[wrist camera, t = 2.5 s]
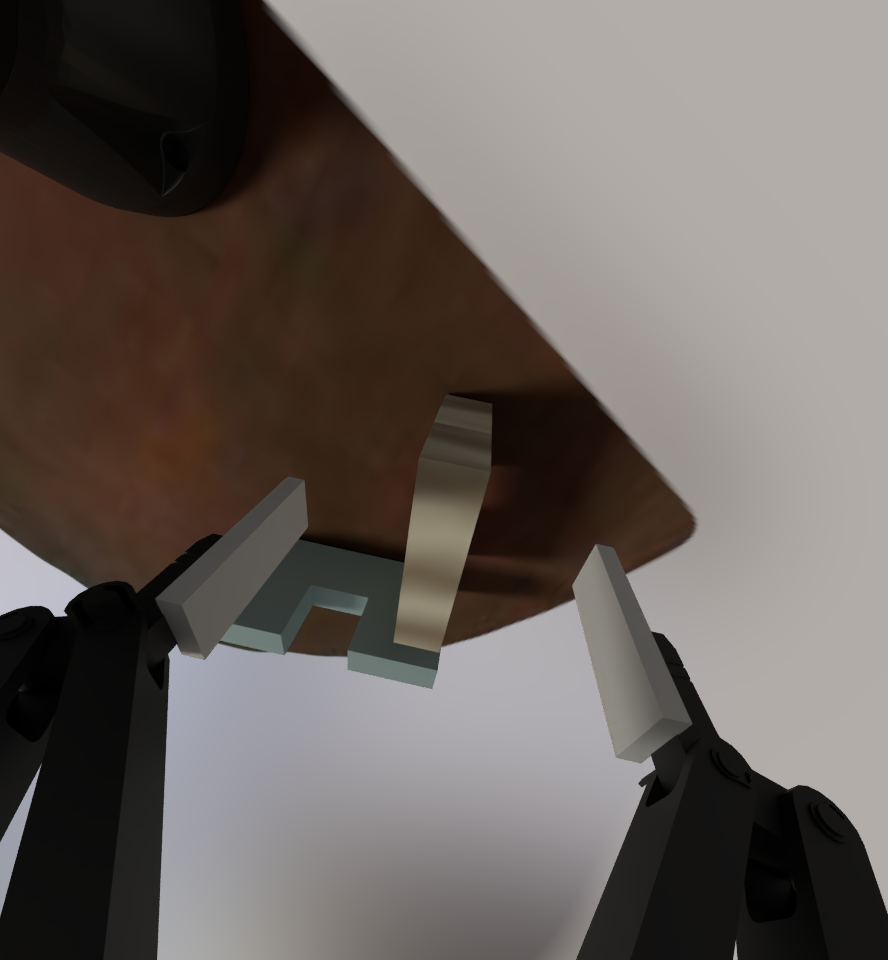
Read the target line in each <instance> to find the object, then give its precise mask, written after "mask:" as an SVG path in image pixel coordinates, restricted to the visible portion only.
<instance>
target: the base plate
mask: <svg viewBox="0 0 888 960" xmlns="http://www.w3.org/2000/svg"><path fill="white" fill-rule="evenodd" d="M403 570H404V563H403V562H399V561H394V560H390V559H385V558H381V557H376V556H372V555H367V554H362V553H358V552H353V551H349V550H344V549H340V548H335V547H331V546H326V545H321V544H317V543H312V542H308V541H303V540H299V539H298V540H297V542H296V543H295V544H294V546H293V547H292V548H291V549H290V551H289V552H288V553H287V555H286V556H285V557H284V558H283V560H282V561H281V562H280V564H279V565H278V566H277V567H276V569H275V570H274V571H273V573H272V574H271V575H270V577H269V578H268V579H267V580H266V582H265V583H264V584H263V586H262V587H261V588H260V589H259V591H258V592H257V593H256V595H255V596H254V597H253V598H252V600H251V601H250V602H249V604H248V605H247V606H246V607H245V609H244V610H243V611H242V613H241V614H240V615H239V616H238V618H237V619H236V620H235V622H234V623H233V624H232V625H231V627H230V628H229V629H228V631H227V632H226V633H225V634H224V636H223V637H222V638H221V641H225V642H229V643H234V644H238V645H242V646H247V647H251V648H255V649H260V650H264V651H269V652H273V653H277V654H282V655H285V653H286V652H287V650H288V648H289V646H290V645H291V643H292V641H293V639H294V637H295V636H296V634H297V632H298V630H299V628H300V627H301V625H302V623H303V621H304V619H305V618H306V616H307V614H308V612H309V611H310V609H311V607H312V605H315V606H320V607H324V608H329V609H333V610H337V611H342V612H346V613H351V614H355V615H360V616H361V618H360V621H359V623H358V626H357V628H356V631H355V633H354V636H353V638H352V641H351V643H350V646H349V648H348V670H352V671H356V672H360V673H365V674H369V675H373V676H378V677H382V678H386V679H391V680H395V681H400V682H404V683H409V684H413V685H417V686H422V687H426V688H430V689H432V687H433V684H434V680H435V677H436V674H437V670H438V663H439V656H440V652H434V651H430V650H425V649H421V648H416V647H412V646H408V645H403V644H399V643H394V635H395V627H396V620H397V613H398V606H399V599H400V591H401V584H402V577H403ZM440 650H441V648H440Z"/></svg>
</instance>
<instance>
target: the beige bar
mask: <svg viewBox="0 0 888 960" xmlns="http://www.w3.org/2000/svg"><path fill="white" fill-rule="evenodd" d="M491 443H492V404H491V403H486V402H481V401H476V400H471V399H467V398H462V397H457V396H452V395H447V394H446V395H445V397H444V400H443V402H442V404H441V407H440V409H439V412H438V414H437V416H436V419H435V421H434V423H433V426H432V428H431V430H430V433H429V435H428V437H427V440H426V442H425V444H424V447H423V449H422V452H421V454H420V456H419V462H418V469H417V476H416V484H415V491H414V498H413V505H412V512H411V520H410V527H409V534H408V541H407V548H406V556H405V563H404V570H403V577H402V584H401V591H400V599H399V606H398V613H397V620H396V627H395V635H394V643H399V644H403V645H408V646H412V647H416V648H421V649H425V650H430V651H434V652H440V648H441V645H442V641H443V638H444V634H445V631H446V627H447V624H448V620H449V617H450V613H451V610H452V606H453V603H454V599H455V596H456V592H457V589H458V585H459V582H460V578H461V575H462V571H463V568H464V564H465V561H466V557H467V554H468V550H469V547H470V543H471V540H472V536H473V533H474V529H475V526H476V522H477V519H478V515H479V512H480V508H481V505H482V501H483V498H484V494H485V491H486V487H487V484H488V480H489V477H490V473H491Z"/></svg>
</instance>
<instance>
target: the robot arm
mask: <svg viewBox="0 0 888 960" xmlns="http://www.w3.org/2000/svg"><path fill="white" fill-rule="evenodd" d="M247 112H248V65H247V53H246V45H245V37H244V31H243V25H242V19H241V14H240V9H239V5H238V0H0V152H2V153H4V154H5V155H7V156H9V157H11V158H13V159H15V160H17V161H19V162H20V163H22V164H24V165H26V166H28V167H30V168H32V169H34V170H36V171H37V172H39V173H41V174H43V175H45V176H47V177H49V178H51V179H53V180H54V181H56V182H58V183H60V184H62V185H64V186H66V187H68V188H70V189H71V190H73V191H75V192H77V193H79V194H81V195H83V196H85V197H87V198H89V199H92V200H94V201H97V202H99V203H102V204H105V205H108V206H111V207H114V208H117V209H122V210H126V211H132V212H137V213H142V214H147V215H153V216H160V217H175V216H181V215H186V214H189V213H192V212H194V211H197V210H199V209H200V208H202V207H204V206H205V205H207V204H208V203H209V202H211V201H212V200H213V199H214V198H215V197H216V196H217V195H218V194H219V192H220V191H221V190H222V189H223V187H224V186H225V184H226V183H227V181H228V180H229V178H230V176H231V174H232V172H233V170H234V168H235V165H236V163H237V160H238V157H239V154H240V151H241V147H242V144H243V140H244V134H245V129H246V121H247ZM307 528H308V520H307V507H306V495H305V482H304V480H301V479H297V478H292V477H287V478H286V479H285V480H284V481H282V482H281V483H280V484H279V485H278V486H277V487H276V488H275V489H274V490H273V491H272V492H271V493H269V494H268V495H267V496H266V497H265V498H264V499H263V500H262V501H261V502H260V503H259V504H257V505H256V506H255V507H254V508H253V509H252V510H251V511H250V512H249V513H248V514H247V515H246V516H244V517H243V518H242V519H241V520H240V521H239V522H238V523H237V524H236V525H235V526H234V527H233V528H231V529H230V530H229V531H228V532H227V533H226V534H225V535H224V536H222V535H217V534H211V535H209V536H207V537H205V538H203V539H201V540H199V541H197V542H196V543H195V544H194V545H192V546H191V547H190V548H189V549H188V550H187V551H185V552H184V555H181V556H180V557H178V558H177V559H176V560H175V561H174V563H173V564H170V565H169V566H168V567H167V568H166V569H164V570H163V571H162V572H161V573H160V574H159V575H157V576H156V577H155V578H154V579H153V580H152V581H150V582H149V583H148V584H147V585H146V586H145V587H143V588H142V589H141V590H140V591H139V592H138V593H136V592H135V590H134V589H133V587H132V586H131V585H130V584H128V583H127V582H121V581H113V582H106V583H102V584H99V585H96V586H93V587H91V588H89V589H87V590H85V591H83V592H82V593H80V594H78V595H77V596H76V597H75V598H74V599H72V600H71V601H70V602H69V603H68V605H67V606H66V608H65V610H64V612H65V613H66V614H67V616H63V617H55V616H54V615H53V614H52V612H51V611H50V610H49V609H48V608H45V607H43V606H29V607H24V608H20V609H16V610H13V611H11V612H8V613H6V614H3V615H1V616H0V841H1V840H2V838H3V836H4V834H5V832H6V830H7V828H8V826H9V824H10V822H11V821H12V819H13V817H14V815H15V813H16V811H17V809H18V807H19V805H20V803H21V802H22V800H23V797H24V796H25V794H26V792H27V790H28V788H29V786H30V784H31V783H32V781H33V779H34V777H35V775H36V773H37V771H38V769H39V767H40V765H41V764H42V765H41V768H40V772H39V776H38V779H37V783H36V787H35V791H34V795H33V798H32V802H31V805H30V809H29V813H28V817H27V820H26V824H25V828H24V831H23V835H22V839H21V842H20V846H19V850H18V854H17V857H16V861H15V864H14V868H13V872H12V876H11V879H10V883H9V887H8V890H7V894H6V898H5V902H4V905H3V909H2V912H1V916H0V960H157V948H158V924H159V923H158V922H159V900H160V899H159V898H160V877H161V875H160V874H161V852H162V829H163V804H164V781H165V756H166V734H167V732H166V731H167V710H168V686H169V685H168V684H169V662H170V660H169V656H168V653H169V652H170V651H171V650H172V649H173V648H174V646H175V645H176V644H177V645H178V647H179V649H180V652H181V654H183V655H187V656H191V657H195V658H200V659H204V660H205V659H206V658H207V656H208V655H209V654H210V653H211V651H212V650H213V649H214V647H215V646H216V645H217V644H218V642H219V641H220V640H221V638H222V637H223V636H224V634H225V633H226V632H227V631H228V629H229V628H230V627H231V625H232V624H233V623H234V622H235V620H236V619H237V618H238V616H239V615H240V614H241V613H242V611H243V610H244V609H245V607H246V606H247V605H248V604H249V602H250V601H251V600H252V598H253V597H254V596H255V595H256V593H257V592H258V591H259V589H260V588H261V587H262V586H263V584H264V583H265V582H266V580H267V579H268V578H269V577H270V575H271V574H272V573H273V571H274V570H275V569H276V567H277V566H278V565H279V564H280V562H281V561H282V560H283V558H284V557H285V556H286V555H287V553H288V552H289V551H290V549H291V548H292V547H293V546H294V544H295V543H296V542H297V540H298V539H299V538H300V537H301V535H302V534H303V533H304V531H305V530H306V529H307ZM572 587H573V590H574V594H575V598H576V602H577V606H578V610H579V614H580V618H581V622H582V626H583V630H584V634H585V638H586V642H587V645H588V649H589V653H590V657H591V661H592V665H593V669H594V673H595V677H596V681H597V685H598V689H599V693H600V697H601V700H602V705H603V709H604V712H605V716H606V720H607V724H608V728H609V732H610V736H611V740H612V744H613V748H614V752H615V755H616V757H617V758H620V759H624V760H629V761H633V762H637V763H642V762H643V761H645V760H646V759H647V758H648V757H650V756H651V757H652V760H653V762H654V766H655V770H654V771H653V772H651V773H650V774H648V775H647V776H645V777H644V778H643V779H642V780H641V781H640V782H639V785H640V786H641V787H643V786H644V785H646V784H647V785H646V788H645V790H644V793H643V795H642V798H641V800H640V803H639V805H638V808H637V810H636V813H635V815H634V817H633V820H632V822H631V825H630V827H629V830H628V832H627V835H626V837H625V840H624V842H623V845H622V848H621V850H620V852H619V855H618V857H617V860H616V862H615V865H614V867H613V870H612V872H611V875H610V877H609V879H608V882H607V884H606V887H605V889H604V892H603V894H602V897H601V899H600V902H599V904H598V907H597V909H596V912H595V914H594V917H593V919H592V922H591V924H590V927H589V929H588V931H587V934H586V936H585V939H584V941H583V944H582V946H581V949H580V951H579V954H578V956H577V959H576V960H733V956H734V949H735V942H736V944H737V957H738V960H888V914H887V911H886V908H885V905H884V902H883V899H882V896H881V893H880V890H879V887H878V884H877V881H876V878H875V875H874V872H873V870H872V867H871V864H870V861H869V858H868V855H867V852H866V849H865V846H864V844H863V842H862V840H861V838H860V836H859V834H858V832H857V830H856V829H855V827H854V826H853V825H852V823H851V822H850V821H849V819H848V818H847V816H846V815H845V814H844V813H843V812H842V811H841V810H840V809H839V808H838V807H837V806H836V805H835V804H834V803H833V802H832V801H831V800H829V799H828V798H826V797H825V796H824V795H823V794H821V793H820V792H819V791H816V790H815V789H812V788H810V787H808V786H802V785H798V786H796V787H793V788H791V789H789V790H787V789H785V788H783V787H782V786H780V785H778V784H777V783H775V782H773V781H771V780H769V779H768V778H766V777H764V776H762V775H760V774H759V773H757V772H755V771H754V770H752V769H751V768H750V766H749V765H748V763H747V762H746V761H745V759H744V758H743V757H742V755H741V754H740V753H739V752H738V751H737V750H736V749H735V748H734V747H733V746H732V745H730V744H729V743H727V742H726V741H724V740H723V739H721V738H720V737H719V735H718V734H717V732H716V730H715V728H714V726H713V724H712V722H711V720H710V718H709V716H708V714H707V712H706V710H705V708H704V706H703V704H702V701H701V700H700V698H699V695H698V693H697V691H696V689H695V687H694V685H693V683H692V682H690V677H689V675H688V673H687V671H686V669H685V668H684V667H683V666H684V665H683V663H682V661H681V659H680V657H679V655H678V653H677V651H676V649H675V648H674V647H673V645H672V644H671V643H670V642H669V641H668V640H667V638H666V637H665V636H664V635H663V634H660V633H656V632H651V630H650V628H649V626H648V624H647V621H646V619H645V617H644V615H643V612H642V610H641V608H640V606H639V603H638V601H637V599H636V597H635V595H634V592H633V590H632V588H631V586H630V583H629V581H628V579H627V577H626V574H625V572H624V570H623V568H622V565H621V563H620V561H619V559H618V557H617V554H616V552H615V550H614V548H613V547H608V546H604V545H599V544H596V545H595V546H594V548H593V550H592V552H591V554H590V555H589V557H588V559H587V561H586V562H585V564H584V566H583V568H582V569H581V571H580V573H579V575H578V576H577V578H576V580H575V582H574V584H573V585H572Z"/></svg>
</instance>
